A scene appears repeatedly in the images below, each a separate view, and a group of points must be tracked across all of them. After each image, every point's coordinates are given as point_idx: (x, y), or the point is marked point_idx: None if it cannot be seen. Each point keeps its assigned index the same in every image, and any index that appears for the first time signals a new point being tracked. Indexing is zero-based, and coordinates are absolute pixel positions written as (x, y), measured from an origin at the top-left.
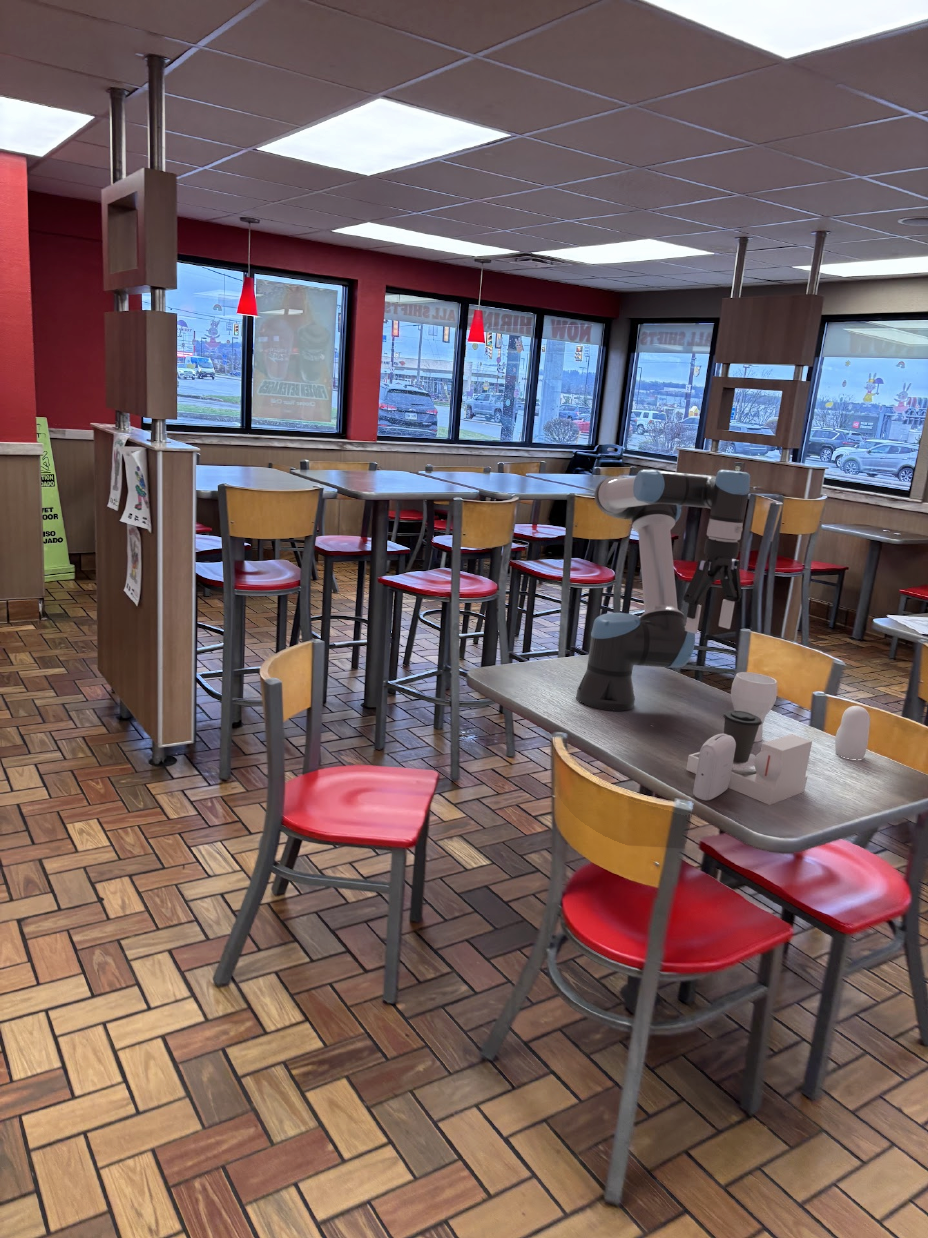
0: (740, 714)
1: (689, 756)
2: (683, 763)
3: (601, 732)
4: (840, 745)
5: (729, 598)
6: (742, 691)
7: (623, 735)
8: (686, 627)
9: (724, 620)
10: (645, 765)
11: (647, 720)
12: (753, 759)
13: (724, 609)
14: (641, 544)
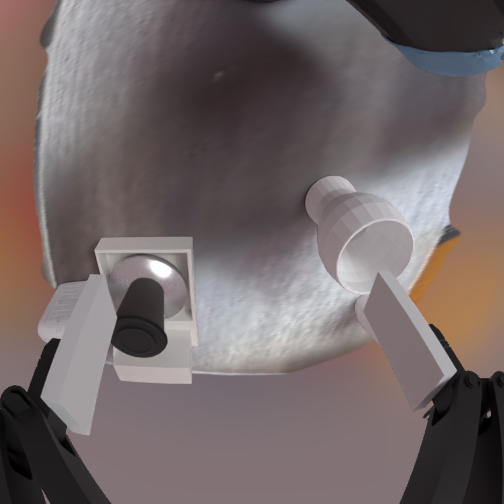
0: (130, 340)
1: (95, 250)
2: (115, 220)
3: (92, 67)
4: (361, 308)
5: (445, 398)
6: (323, 245)
7: (116, 91)
8: (86, 290)
9: (383, 315)
10: (58, 202)
11: (238, 53)
12: (168, 305)
13: (410, 347)
14: None
